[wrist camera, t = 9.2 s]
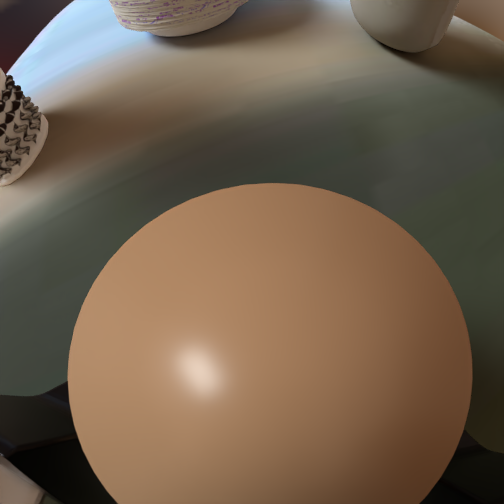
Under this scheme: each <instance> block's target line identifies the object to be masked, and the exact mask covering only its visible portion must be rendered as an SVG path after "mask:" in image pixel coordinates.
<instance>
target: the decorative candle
mask: <svg viewBox="0 0 504 504" xmlns="http://www.w3.org/2000/svg"><path fill="white" fill-rule="evenodd" d="M14 84H15V82H14V81H13V77H12V76H11V75H8V76H7V75H5V74H4V72H3V71H2V70H1V68H0V186H5V185H9V184H11V183H12V182H14V181H15V180H16V179H18V178H19V177H21V176H22V175H23V174H24V172H25V171H26V170H27V169H28V168H29V167H30V166H31V165H32V164H33V162H34V161H35V159H36V157H37V156H38V154H39V153H40V151H41V150H42V148H43V145H44V143H45V140H46V138H47V135H48V121H47V120H46V118H45V116H44V115H43V114H42V113H41V112H38V106H35V107H34V104H33V103H32V102H31V103H30V101H31V98H30V97H25V96H24V95H23V91H21V87H20V86H19V85H17V86H15V85H14Z"/></svg>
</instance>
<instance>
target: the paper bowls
mask: <svg viewBox="0 0 504 504" xmlns="http://www.w3.org/2000/svg"><path fill="white" fill-rule="evenodd" d="M109 1H110V4H111V6H112V8H113V10H114V13H115V15H116V17H117V20H118V22H119V23H120V24H121V25H122V26H123V27H125V28H127V29H131V30H135V31H146V32H150V33H152V34H154V35H158V36H168V37H171V36H184V35H189V34H194V33H198V32H201V31H204V30H207V29H210V28H212V27H215V26H217V25H219V24H220V23H222V22H224V21H225V20H227V19H228V18H229V17H231V16H232V15H233V14H234V12H235V11H236V9H237V8H238V7H239V6H241V5H243V4H244V3H246V2H248V0H109Z"/></svg>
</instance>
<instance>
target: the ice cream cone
mask: <svg viewBox="0 0 504 504" xmlns="http://www.w3.org/2000/svg"><path fill="white" fill-rule="evenodd" d="M68 390H69V402H70V408H71V413H72V417H73V422H74V426H75V429H76V432H77V435H78V438H79V441H80V444H81V446H82V449H83V451H84V453H85V455H86V457H87V459H88V461H89V463H90V465H91V467H92V469H93V471H94V473H95V474H96V476H97V477H98V479H99V480H100V482H101V483H102V484H103V486H104V487H105V489H106V490H107V491H108V493H109V494H110V495H111V496H112V497H113V498H114V500H115V501H116V502H117V503H118V504H419V503H420V502H421V501H422V500H423V499H424V498H425V497H426V496H427V495H428V493H429V492H430V491H431V489H432V488H433V487H434V485H435V484H436V483H437V481H438V480H439V479H440V477H441V476H442V474H443V472H444V471H445V469H446V467H447V466H448V464H449V462H450V460H451V458H452V457H453V455H454V453H455V450H456V448H457V445H458V443H459V440H460V438H461V435H462V433H463V430H464V426H465V423H466V419H467V415H468V411H469V406H470V399H471V390H472V353H471V347H470V341H469V335H468V330H467V326H466V323H465V320H464V317H463V314H462V310H461V307H460V305H459V303H458V300H457V298H456V296H455V294H454V292H453V290H452V288H451V286H450V284H449V282H448V280H447V279H446V277H445V276H444V274H443V273H442V271H441V270H440V268H439V267H438V265H437V264H436V262H435V261H434V260H433V258H432V257H431V256H430V255H429V254H428V253H427V252H426V250H425V249H424V248H423V247H422V246H421V245H420V244H419V243H418V241H416V240H415V239H414V238H413V237H412V236H411V235H410V234H408V233H407V232H406V231H405V230H404V229H403V228H402V227H400V226H399V225H398V224H397V223H395V222H394V221H392V220H391V219H389V218H388V217H386V216H384V215H383V214H381V213H380V212H378V211H377V210H375V209H373V208H371V207H369V206H367V205H365V204H363V203H361V202H359V201H356V200H354V199H352V198H350V197H347V196H344V195H341V194H338V193H334V192H331V191H328V190H325V189H320V188H315V187H309V186H304V185H298V184H281V183H264V184H250V185H241V186H236V187H231V188H226V189H221V190H217V191H214V192H211V193H208V194H205V195H202V196H199V197H196V198H193V199H191V200H188V201H186V202H184V203H182V204H180V205H178V206H176V207H174V208H172V209H170V210H168V211H166V212H165V213H163V214H162V215H160V216H159V217H157V218H156V219H154V220H152V221H151V222H149V223H148V224H146V225H145V226H144V227H143V228H142V229H140V230H139V231H138V232H137V233H136V234H135V235H133V236H132V237H131V238H130V239H129V240H128V241H126V242H125V243H124V245H123V246H122V247H121V248H120V249H119V250H118V251H117V252H116V253H115V254H114V256H113V257H112V258H111V259H110V260H109V261H108V263H107V264H106V266H105V267H104V268H103V270H102V271H101V273H100V274H99V276H98V277H97V279H96V280H95V282H94V283H93V285H92V287H91V289H90V291H89V293H88V295H87V297H86V299H85V301H84V303H83V305H82V308H81V311H80V314H79V316H78V319H77V322H76V325H75V328H74V333H73V337H72V342H71V347H70V352H69V365H68Z"/></svg>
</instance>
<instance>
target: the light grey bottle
mask: <svg viewBox="0 0 504 504" xmlns="http://www.w3.org/2000/svg"><path fill="white" fill-rule="evenodd" d="M350 2H351V7H352V10H353V13H354V16H355V18H356V19H357V21H358V22H359V24H360V25H361V26H362V27H363V29H364V30H365V31H366V32H367V33H368V34H370V35H371V36H372V37H373V38H375V39H376V40H378V41H380V42H381V43H383V44H385V45H387V46H389V47H392V48H394V49H397V50H401V51H405V52H420V51H423V50H426V49H429V48H431V47H433V46H436V45H438V43H439V42H440V40H441V39H442V37H443V36H444V34H445V32H446V30H447V28H448V26H449V24H450V22H451V19H452V17H453V15H454V12H455V10H456V7H457V4H458V3H459V0H350Z"/></svg>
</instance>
